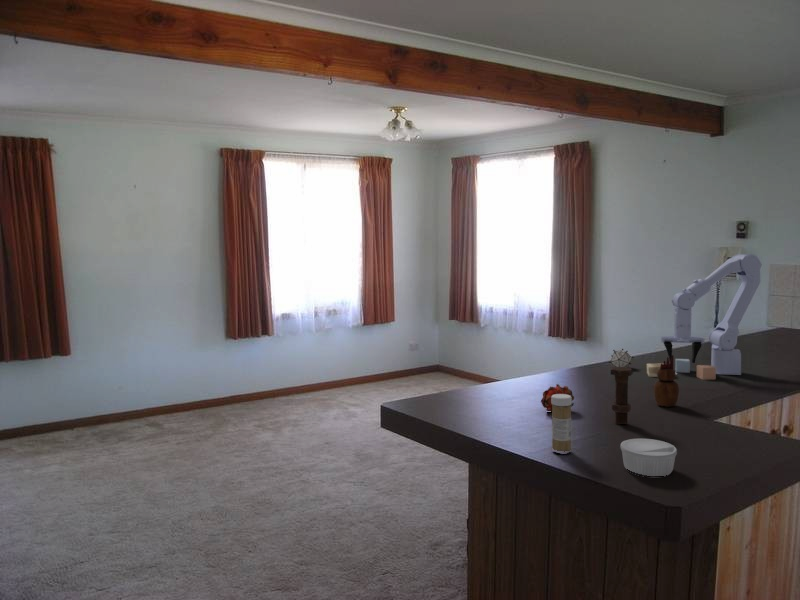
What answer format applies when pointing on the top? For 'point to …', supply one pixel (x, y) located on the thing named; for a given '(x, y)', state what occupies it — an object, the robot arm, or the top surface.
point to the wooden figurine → (666, 385)
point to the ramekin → (648, 456)
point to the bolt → (621, 394)
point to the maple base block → (653, 369)
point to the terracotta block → (706, 372)
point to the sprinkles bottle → (561, 422)
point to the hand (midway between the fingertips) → (681, 362)
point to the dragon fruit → (552, 391)
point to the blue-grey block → (682, 365)
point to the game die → (621, 359)
